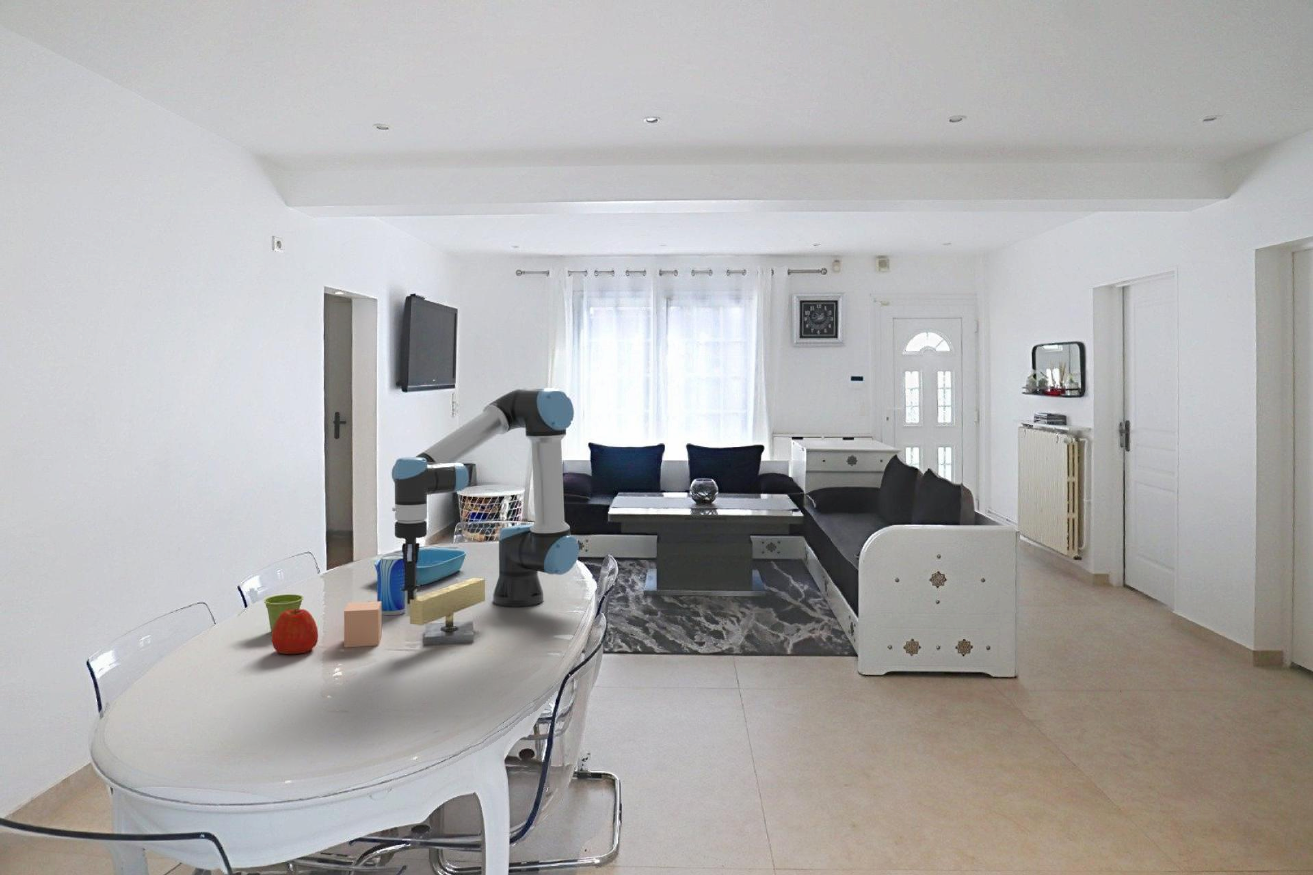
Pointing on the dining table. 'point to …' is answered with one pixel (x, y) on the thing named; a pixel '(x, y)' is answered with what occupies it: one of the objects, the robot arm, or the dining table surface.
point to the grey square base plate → (449, 633)
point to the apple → (294, 632)
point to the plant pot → (281, 606)
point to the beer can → (391, 584)
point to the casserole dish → (436, 564)
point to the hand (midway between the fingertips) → (410, 615)
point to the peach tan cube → (362, 624)
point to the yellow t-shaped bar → (446, 602)
